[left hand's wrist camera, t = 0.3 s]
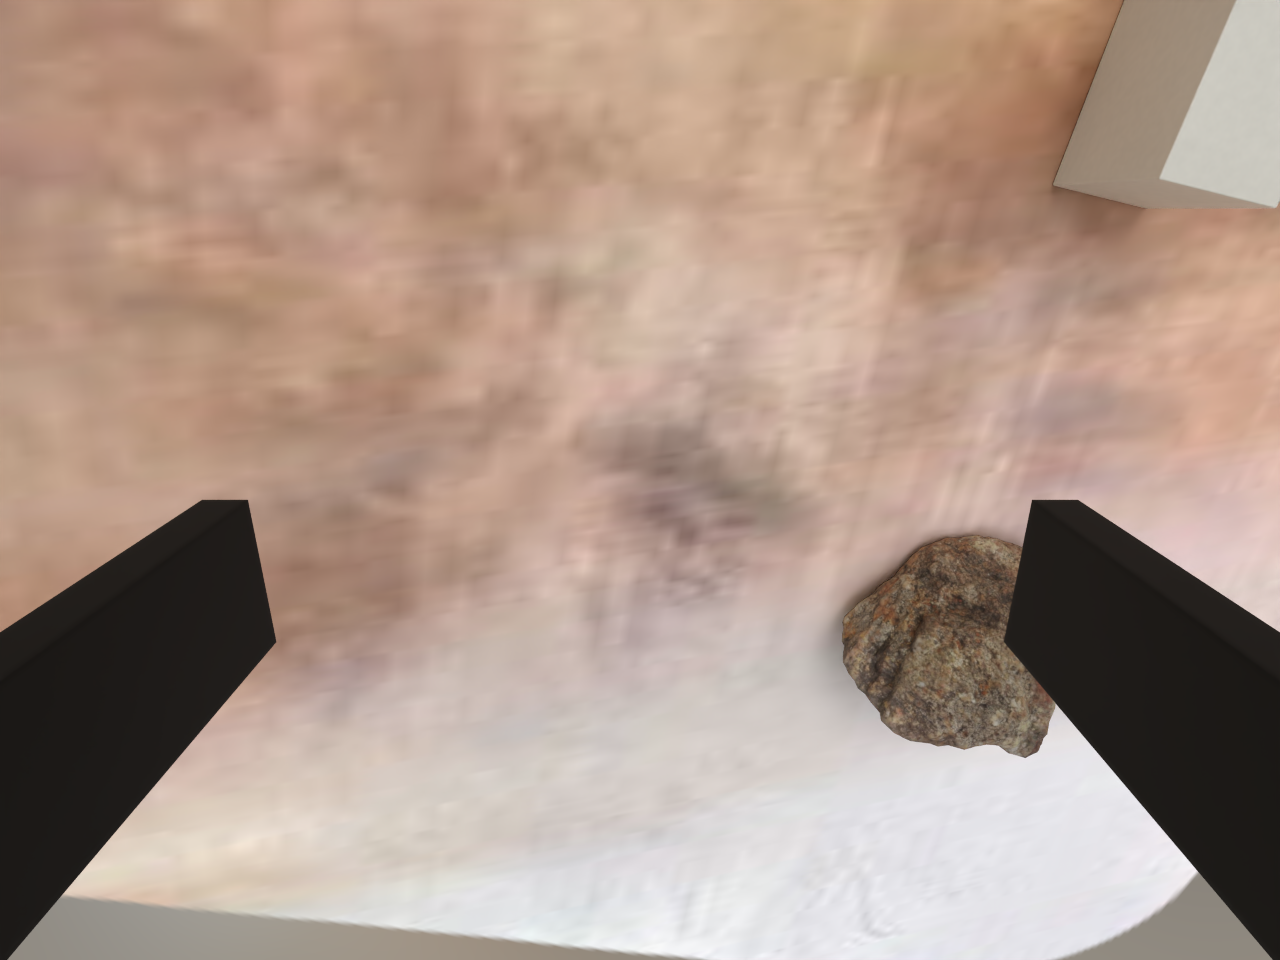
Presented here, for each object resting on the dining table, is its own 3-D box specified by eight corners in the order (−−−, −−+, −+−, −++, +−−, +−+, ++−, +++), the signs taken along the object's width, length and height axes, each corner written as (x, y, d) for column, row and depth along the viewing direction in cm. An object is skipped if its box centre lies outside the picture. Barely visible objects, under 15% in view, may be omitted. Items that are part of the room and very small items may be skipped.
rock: (1015, 695, 47) (1100, 565, 43) (1104, 800, 39) (1216, 650, 35) (814, 641, 44) (887, 497, 41) (865, 742, 36) (962, 573, 33)
